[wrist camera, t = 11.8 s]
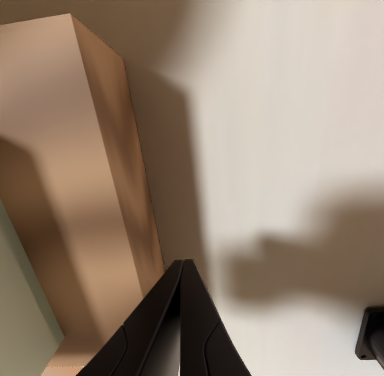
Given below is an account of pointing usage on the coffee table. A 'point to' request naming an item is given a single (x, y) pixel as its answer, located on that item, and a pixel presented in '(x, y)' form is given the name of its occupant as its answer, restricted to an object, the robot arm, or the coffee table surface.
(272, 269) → the coffee table surface
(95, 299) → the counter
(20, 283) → the tray
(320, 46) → the coffee table surface
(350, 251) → the coffee table surface
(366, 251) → the coffee table surface
